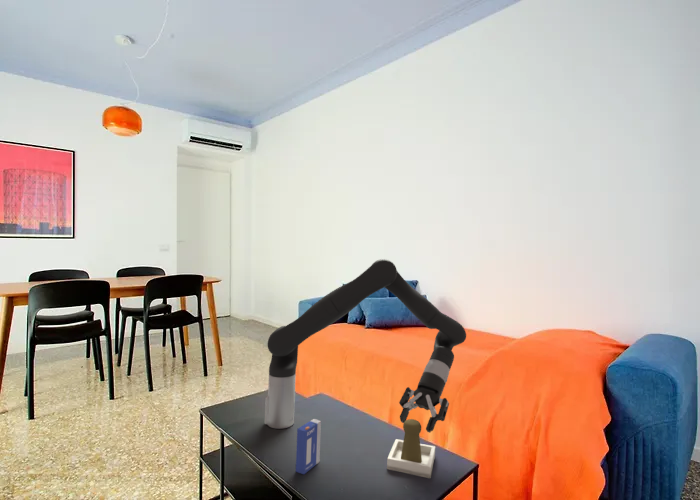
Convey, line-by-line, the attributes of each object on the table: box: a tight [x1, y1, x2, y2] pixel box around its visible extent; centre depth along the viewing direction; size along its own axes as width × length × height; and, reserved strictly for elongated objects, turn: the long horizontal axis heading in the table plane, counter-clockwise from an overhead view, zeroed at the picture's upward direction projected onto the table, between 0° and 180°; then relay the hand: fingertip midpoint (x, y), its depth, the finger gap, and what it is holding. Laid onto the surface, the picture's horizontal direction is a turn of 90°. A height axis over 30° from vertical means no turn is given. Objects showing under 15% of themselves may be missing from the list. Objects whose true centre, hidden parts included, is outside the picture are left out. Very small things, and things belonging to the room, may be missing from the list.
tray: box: [386, 438, 436, 479], centre depth 110 cm, size 12×12×3 cm
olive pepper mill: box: [401, 418, 422, 463], centre depth 110 cm, size 6×6×11 cm
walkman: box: [295, 418, 322, 475], centre depth 106 cm, size 8×3×12 cm, turn 150°
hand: (414, 426), depth 111 cm, fingers open, 8 cm apart
